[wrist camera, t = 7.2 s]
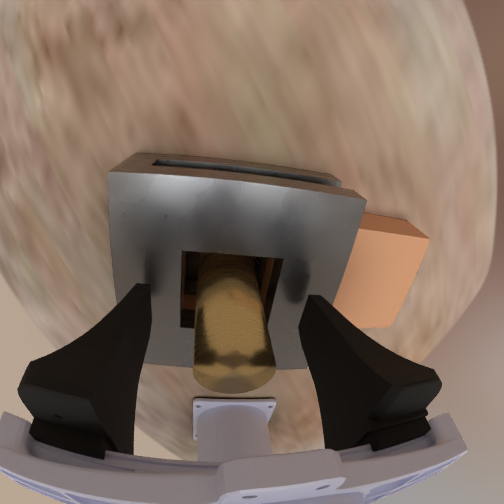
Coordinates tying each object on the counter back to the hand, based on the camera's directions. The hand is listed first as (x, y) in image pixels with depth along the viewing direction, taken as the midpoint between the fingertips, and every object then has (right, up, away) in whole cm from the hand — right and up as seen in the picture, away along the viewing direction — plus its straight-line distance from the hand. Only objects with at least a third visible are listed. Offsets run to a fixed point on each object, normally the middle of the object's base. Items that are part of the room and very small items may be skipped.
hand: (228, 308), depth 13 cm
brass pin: (-1, +3, +5) cm, 5 cm away
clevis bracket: (-1, +3, +5) cm, 5 cm away
